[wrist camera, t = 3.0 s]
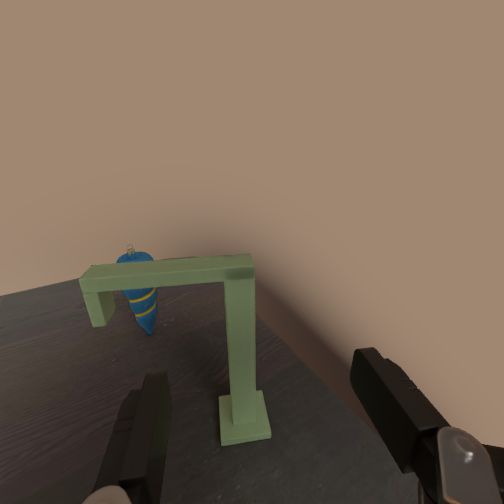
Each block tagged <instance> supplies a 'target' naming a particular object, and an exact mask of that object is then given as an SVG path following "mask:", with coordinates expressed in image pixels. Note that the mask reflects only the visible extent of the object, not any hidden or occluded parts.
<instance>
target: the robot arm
mask: <svg viewBox="0 0 504 504" xmlns="http://www.w3.org/2000/svg"><path fill="white" fill-rule="evenodd" d="M350 381H351V385H352V388H353V390H354V392H355V394H356V395H357V397H358V399H359V400H360V402H361V404H362V405H363V407H364V409H365V411H366V412H367V414H368V416H369V417H370V419H371V421H372V422H373V424H374V426H375V427H376V429H377V431H378V433H379V434H380V436H381V438H382V439H383V441H384V443H385V444H386V446H387V448H388V450H389V451H390V453H391V455H392V456H393V458H394V460H395V461H396V463H397V465H398V467H399V468H400V470H401V472H402V473H403V474H405V473H410V472H415V473H416V475H417V477H418V478H419V481H418V504H504V448H501V447H496V446H490V445H484V444H481V443H480V442H479V441H478V440H477V439H475V438H474V437H473V436H472V435H470V434H468V433H467V432H465V431H463V430H461V429H458V428H455V427H451V426H450V425H449V423H448V422H447V421H446V420H445V419H444V418H443V416H442V415H441V414H440V413H439V412H438V411H437V409H436V408H435V407H434V406H433V405H432V404H431V403H430V401H429V400H428V399H427V398H426V397H425V396H424V394H423V393H422V392H421V391H420V390H419V389H417V386H416V385H415V384H414V383H413V382H412V380H410V379H409V377H408V376H407V375H406V373H405V372H404V371H403V370H402V369H401V367H399V366H398V365H397V364H395V363H393V362H392V361H391V360H389V359H384V358H383V357H382V356H381V355H380V353H379V352H378V351H377V350H376V349H375V348H373V347H370V348H362V349H356V350H355V351H354V356H353V361H352V367H351V372H350ZM171 410H172V402H171V394H170V388H169V382H168V376H167V372H166V371H165V372H157V373H149V374H146V376H145V379H144V383H143V387H142V389H139V390H131V392H130V393H129V394H128V396H127V397H126V398H125V400H124V401H123V402H122V404H121V407H120V410H119V413H118V416H117V421H116V422H115V425H114V428H113V434H112V435H111V438H110V441H109V444H108V447H107V450H106V453H105V456H104V459H103V462H102V465H101V468H100V471H99V474H98V478H97V481H96V483H95V486H94V488H93V490H92V492H91V494H90V495H89V497H88V498H87V499H86V500H85V501H84V502H83V503H82V504H160V497H161V489H162V481H163V474H164V466H165V458H166V451H167V443H168V436H169V428H170V420H171Z"/></svg>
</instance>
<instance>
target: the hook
mask: <svg viewBox="0 0 504 504" xmlns="http://www.w3.org/2000/svg"><path fill="white" fill-rule="evenodd" d="M222 281H224V297H225V313H226V330H227V346H228V362H229V378H230V395H225V396H219V411H220V433H221V446H227V445H233V444H239V443H244V442H250V441H256V440H262V439H267V438H271V429H270V425H269V420H268V416H267V411H266V407H265V402H264V398H263V393H262V390H259V391H256V349H255V265H254V263H253V260H252V257H251V255H250V254H237V255H224V256H211V257H197V258H184V259H170V260H156V261H143V262H129V263H116V264H102V265H92V266H91V267H90V268H89V269H88V270H87V271H86V272H85V273H84V274H83V275H82V276H81V277H80V278H79V283H80V286H81V290H82V293H83V297H84V300H85V303H86V307H87V310H88V313H89V316H90V320H91V323H92V326H93V327H102V326H107V324H108V322H109V320H110V318H111V316H112V315H113V313H114V311H115V309H116V307H115V303H114V299H113V295H112V291H118V290H130V289H141V288H153V287H164V286H176V285H187V284H199V283H210V282H222Z"/></svg>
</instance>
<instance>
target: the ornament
mask: <svg viewBox="0 0 504 504" xmlns="http://www.w3.org/2000/svg"><path fill="white" fill-rule="evenodd" d="M143 261H154V260H153V258H152V257H151V256H150V255H149V254H147V253H145V252H135V251H134V249H133V248H132V249H127V254H124V255H122V256H121V257H119V259H118V260H117V262H116V263H129V262H143ZM122 291H123V293H124V294H125V296H126V297H127V298H128V299H129V306H130V308H131V309H132V311H133V312H134V313H135V320H136V321H137V323H138V324H139V325H140V326H141V327H142V328H143V329H144V330H145V331H146V332H147V334H148V335H151V334H152V333H153V330H154V325H155V320H156V314H157V303H156V297H157V288H156V287H153V288H141V289H130V290H122Z"/></svg>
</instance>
